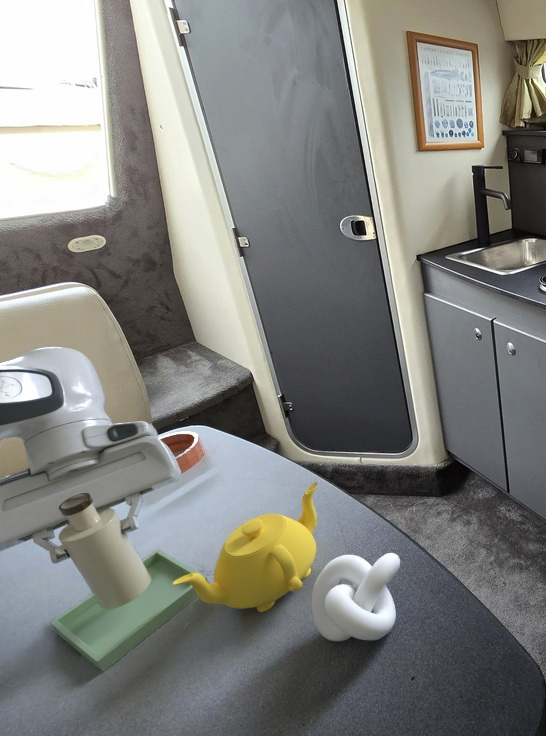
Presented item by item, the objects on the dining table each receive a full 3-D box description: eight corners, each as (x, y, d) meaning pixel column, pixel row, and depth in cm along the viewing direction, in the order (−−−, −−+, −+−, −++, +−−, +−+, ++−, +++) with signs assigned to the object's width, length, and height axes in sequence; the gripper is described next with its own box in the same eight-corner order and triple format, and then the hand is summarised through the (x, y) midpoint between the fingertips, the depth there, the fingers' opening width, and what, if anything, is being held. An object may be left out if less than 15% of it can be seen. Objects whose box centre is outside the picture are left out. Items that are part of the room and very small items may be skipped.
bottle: (92, 600, 70) (35, 510, 64) (139, 568, 75) (91, 481, 69) (112, 615, 68) (55, 523, 62) (159, 581, 73) (111, 492, 66)
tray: (56, 632, 70) (49, 623, 69) (163, 557, 81) (158, 548, 80) (103, 672, 65) (96, 662, 64) (211, 586, 76) (206, 576, 75)
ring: (123, 480, 99) (113, 460, 97) (187, 445, 108) (179, 426, 107) (154, 496, 94) (144, 476, 92) (218, 458, 104) (211, 438, 102)
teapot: (234, 670, 64) (204, 610, 60) (178, 619, 71) (148, 562, 67) (365, 551, 81) (349, 497, 76) (310, 519, 87) (292, 468, 83)
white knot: (420, 632, 68) (408, 586, 65) (323, 685, 62) (304, 638, 59) (402, 570, 77) (391, 528, 74) (316, 612, 71) (299, 568, 68)
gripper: (-49, 485, 62) (-30, 593, 59) (159, 416, 74) (185, 502, 71) (-22, 493, 67) (-2, 593, 64) (169, 427, 79) (194, 508, 76)
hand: (98, 545), depth 68 cm, fingers closed on bottle, 5 cm apart
